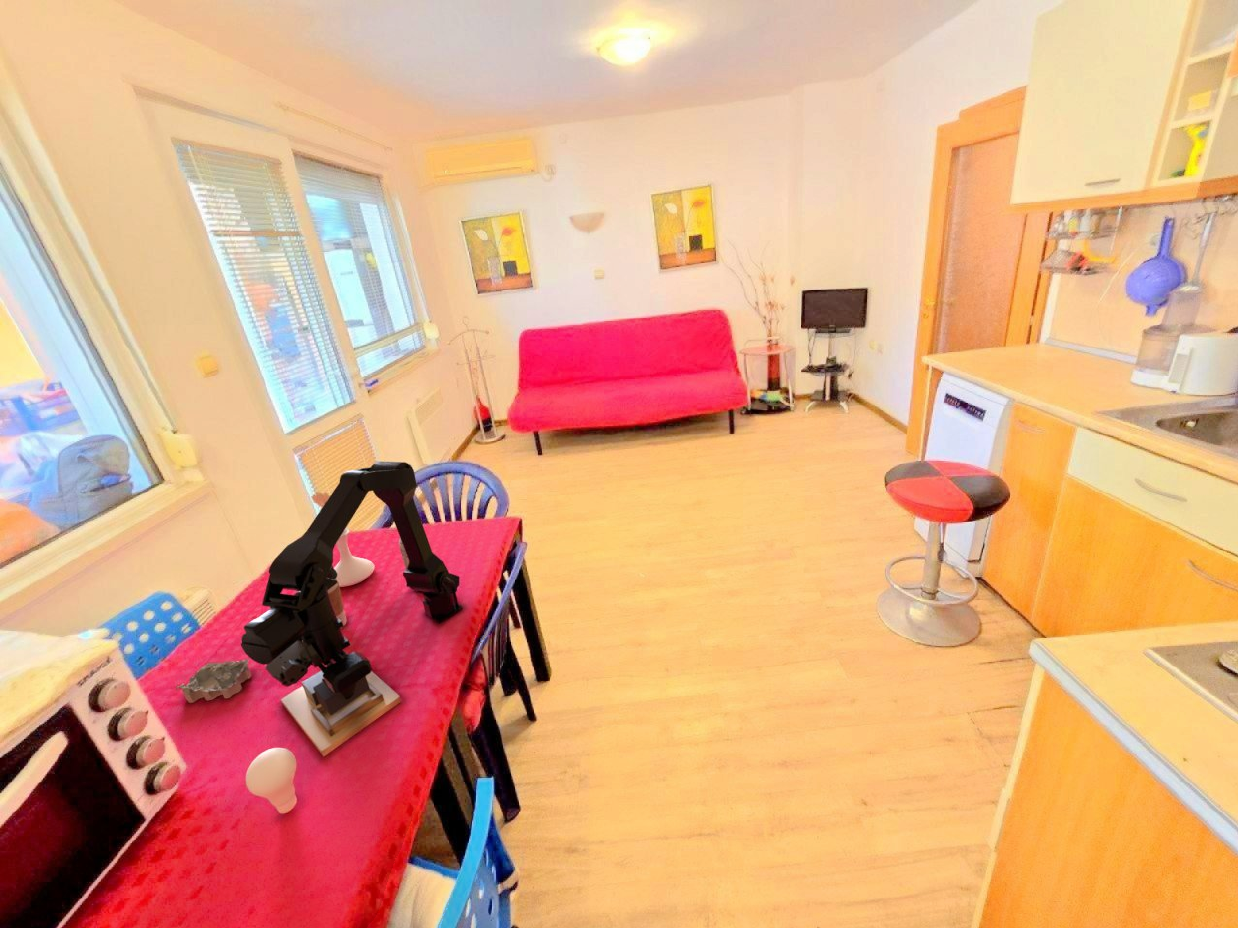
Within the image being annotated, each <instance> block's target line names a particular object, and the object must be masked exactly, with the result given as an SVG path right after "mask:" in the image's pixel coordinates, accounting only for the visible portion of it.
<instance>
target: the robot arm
mask: <svg viewBox="0 0 1238 928" xmlns="http://www.w3.org/2000/svg"><path fill="white" fill-rule="evenodd" d="M417 486H418V484H417V480H416V474H415V470H414V468H413V466H412V465H411V464H410V463H408V462H405V461H375V462H374V463H373V464H372V465H371V466H369V467H361V468H357V469H355V470H351V469H349V470H346V471H344V472H343V473H342V474H341V475H340V477H339V483H338V484H337V486H336V487H335V488H334V490H333V492H332V493H331V494H330V495H331V496H330V495H329V496H330V497H329V499H328V500H327V502H326V503H325V505H324V506H323V507H321V509H320V511H318V514H317V515H316V517H314V520H313V521H312V523H311V524H310V526H309V527H308V528H307V530H306V531H305V532H304V533H303V534H302V535H301V536H300V537H299V538H297V539H296V540H294V541H292V542H291V543H289V544H288V545H286V547H285V548H284V549H282V551H281V552H280V553H279V554H278V555H277V556H276V557H275V558H274V560H273V561H272V562H271V564H270V566H269V569H268V574H269V576H268V580H267V583H266V587H265V592H264V595H263V599H262V603H261V605H262V606H263V607H268V608H269V609H268V610H267V611H265V612H264V613H262V614H261V615H259V616H258V617H257V618H254V619H252V620H251V621H249V622H248V623H247V624H245V625H244V626H243V629H244V632H245V633H243V634H242V636H241V639H240V640H241V643H240V647H241V648H242V650H243V652H244V653H245V655H247V656H248V657H249V659H251V660H252V661H253V662H255V663H257V664H260V665H266V666H265V669H266V671H267V672H268V674H269V675H271V677H272V678H273V679H275V680H276V681H278V682H279V683H281V685H282V686H285V687H287V688H288V687H291V686H293V685H295V684H297V683H299V681H301V679H302V678H304V676H306V675H307V674H308V672H309V668H310V667H311V666H313V667H314V668H319V670H320V671H322V672H323V673H324V674H323V678H324V679H322V681H323V682H324V683H325V684H326V685H327V686H328V687H329V688H330V689H331V690H332V691H333V692H334V693H340V692H341V693H342V694H343V696H344V697H345V698H346V699H347V700H348V699H350V698H351V697H353V694H354V690H355V686H356V682H357V681H359V680H360V679H362V678H363V677H365V676H366V675H368V674H370V673H371V671H372V672H373V667H372V665H371V662H370V660H369V659H368V658H367V657H366V656H364V654H362V653H361V652H357V651H352V652H351V653H347V652H346V651H345V649H347V648H348V647H349V646H351V643H350V641H349V639H347V638H346V637H345V636H344V634H343V631H342V628H343V627H344V626H343V623H342V621H341V620H340V619H338V618H337V616H336V614H335V611H334V608H333V605H332V602H331V600H330V597H329V594H328V590H329V589H330V588H331V587H333V586H334V585H335V584H337V580H335V579H329V578H327V575H328V572H329V570H330V568H331V566H333V564H334V549H335V547H336V543H337V541H338V539H339V538H340V536H341V535H342V533H343V532H344V530H345V529H347V527H348V525H349V524H350V522H351V521H352V519H353V517H354V516H355V514H356V513H357V511H358V509H359V508H360V506H361V505H362V503H363V501H364V500H365V498H366V497H367V495H368V494H369V492H373V493H374V495H375V496H376V498H378V499H379V500H380V501H381V502H383V503H384V505H386V506H387V508H388V509H389V513H390V515H391V517H392V519H393V522H394V525H395V528H396V530H397V533H398V536H399V539H400V538H401V541H402V543H403V546H404V548H405V551H406V554H407V556H408V559H409V564H408V567H407V570H406V569H405V570H404V571H403V572H402V576H403V578H404V579H405V582H406V583H405V584H406V587H407V588H410V589H411V590H413V591H414V592H415V593H416V594H422V596H423V599H424V600H422V604H423V608H424V615H426V617H428V618H430V619H431V620H433V621H435V622H437V623H438V624H440V623H441V624H442V623H443V622H444V621H446V620H448V619H450V617H453V616H454V615H455V614H457V613H458V612H460V611H462V610H463V609H464V607H463V605H462V604H460V603H459V601H458V597H457V592H458V587H460V576H459V575H456V574H453V573H450V572H449V569H448V568H447V566H446V564H445V562H444V560H442V559H441V558H439V556H437V555H436V553H434V552H433V550H432V548H431V545H430V541H429V539H428V536H427V533H426V530H425V527H424V525H423V522H422V519H421V516H420V514H419V510H418V509H417V505H416V502H415V499H414V496H415V493H416V490H417ZM283 590H288V591H294V592H295V591H296V592H295V593H294V594H287V593H282V592H283ZM341 627H342V628H341Z"/></svg>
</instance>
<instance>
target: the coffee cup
mask: <svg viewBox="0 0 1238 928" xmlns="http://www.w3.org/2000/svg"><path fill="white" fill-rule="evenodd" d="M327 578H329V579H335V580H337V572H336V570H335V569H334V566H333V565H332V566H331V568H330V570H329V572H328V575H327ZM328 594H329V597H330V600H331V602H332V605H333V608H334V611H335V614H336V616H337V618H338V619H340V620H341V621H342V623H343V627H345V626H346V624H347V616H346V611H345V607H344V602H343V597H342V592H341V587H339V583H338V581H337V584H335V585H334V586H333V587H331V588H330V589H329V590H328ZM343 627H341V629H342V628H343Z"/></svg>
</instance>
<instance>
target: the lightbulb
mask: <svg viewBox="0 0 1238 928" xmlns="http://www.w3.org/2000/svg"><path fill="white" fill-rule="evenodd" d="M297 766H298V765H297V759H296V756H295V755H294V753H292V752H291V750H289V749H287V748H284V747H273V748H269V749H267V750H265V751H263V752H261V753H260V754H258V755H257V756H256V757H255V758H254V759H253V760H252V761H251V763H250V764H249V766H248V767H247V771H246V773H245V785H246V788H247V791H249V792H250V793H251V794H252V795H254V796H257V797H260V798H263V799H264V798H265V799H267V801H268V802H270V804H271V805H272V806H274V807H275V809H276V811H277V812H278V813H279V814H286V813H289V812H291V810H293V809H294V808H295V806H296V805H297V803H298V799H297V795H296V793H295V792H296V788H295V785H294V778H295V775H296V771H297Z"/></svg>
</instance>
